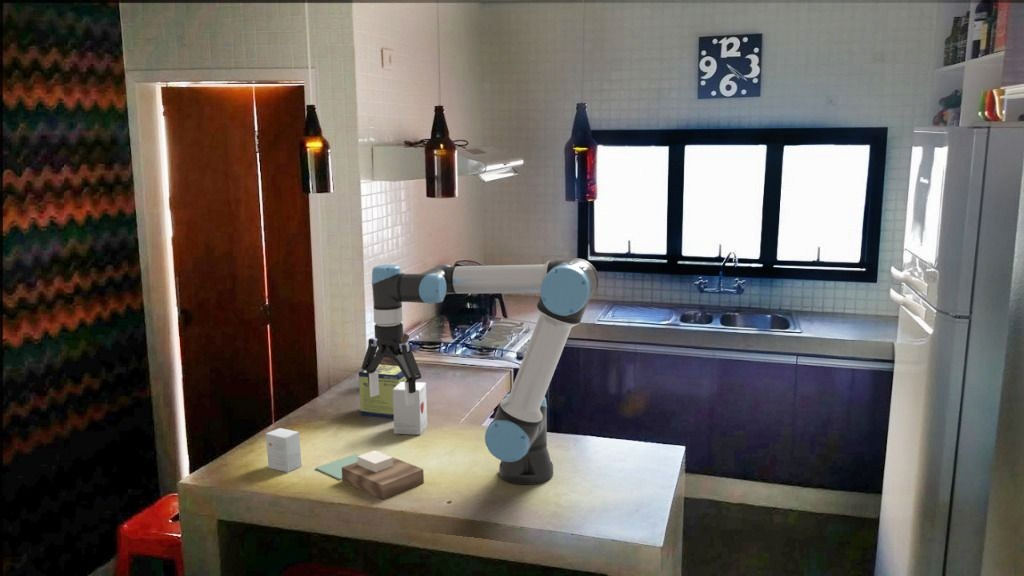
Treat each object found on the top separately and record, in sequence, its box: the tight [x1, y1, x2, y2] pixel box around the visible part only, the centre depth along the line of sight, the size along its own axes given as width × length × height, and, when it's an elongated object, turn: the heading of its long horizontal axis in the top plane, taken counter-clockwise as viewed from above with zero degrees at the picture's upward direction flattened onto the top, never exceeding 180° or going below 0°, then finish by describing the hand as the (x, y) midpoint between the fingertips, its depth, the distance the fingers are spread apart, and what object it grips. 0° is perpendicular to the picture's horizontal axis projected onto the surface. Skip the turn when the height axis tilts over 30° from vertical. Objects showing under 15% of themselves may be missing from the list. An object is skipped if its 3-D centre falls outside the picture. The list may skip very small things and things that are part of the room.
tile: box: [357, 450, 394, 472], centre depth 227 cm, size 8×6×2 cm
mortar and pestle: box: [379, 332, 410, 366], centre depth 315 cm, size 12×9×20 cm
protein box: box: [358, 364, 411, 419], centre depth 282 cm, size 10×16×16 cm
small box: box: [265, 427, 302, 473], centre depth 236 cm, size 8×6×10 cm
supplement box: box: [393, 381, 428, 436], centre depth 265 cm, size 9×9×15 cm
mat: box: [315, 453, 360, 481], centre depth 236 cm, size 12×14×1 cm
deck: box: [341, 453, 425, 500], centre depth 225 cm, size 18×14×4 cm
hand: (392, 400), depth 222 cm, fingers open, 13 cm apart
